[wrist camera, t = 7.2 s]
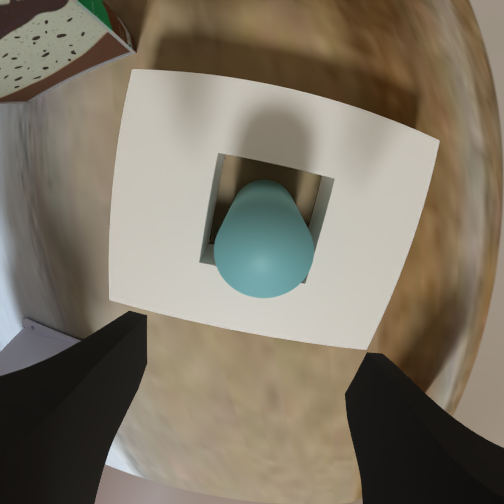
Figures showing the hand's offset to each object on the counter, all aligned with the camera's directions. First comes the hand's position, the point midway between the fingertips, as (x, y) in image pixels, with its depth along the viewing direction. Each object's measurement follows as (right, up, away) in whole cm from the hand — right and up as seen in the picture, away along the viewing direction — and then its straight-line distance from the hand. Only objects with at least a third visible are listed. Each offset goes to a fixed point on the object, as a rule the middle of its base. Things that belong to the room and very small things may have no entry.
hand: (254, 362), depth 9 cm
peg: (+1, +6, +8) cm, 10 cm away
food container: (-12, +18, +5) cm, 22 cm away
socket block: (+1, +6, +8) cm, 10 cm away
